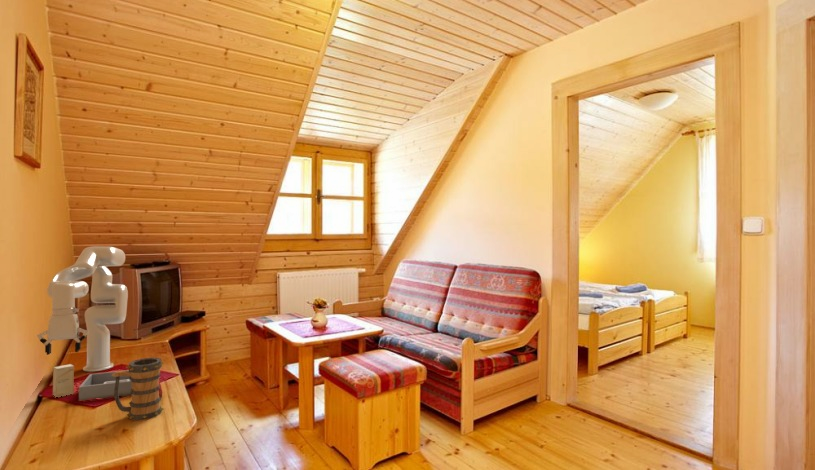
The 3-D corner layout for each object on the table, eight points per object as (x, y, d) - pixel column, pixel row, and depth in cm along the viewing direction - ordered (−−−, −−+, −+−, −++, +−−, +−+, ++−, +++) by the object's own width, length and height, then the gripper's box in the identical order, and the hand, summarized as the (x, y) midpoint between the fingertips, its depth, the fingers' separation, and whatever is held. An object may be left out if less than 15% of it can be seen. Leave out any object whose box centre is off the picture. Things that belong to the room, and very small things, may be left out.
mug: (164, 417, 162) (164, 363, 162) (109, 427, 154) (109, 370, 154) (164, 405, 174) (165, 355, 174) (113, 413, 165) (113, 361, 165)
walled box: (89, 387, 193) (89, 374, 193) (147, 380, 202) (147, 368, 202) (78, 401, 177) (78, 387, 177) (141, 393, 186) (141, 379, 186)
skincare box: (55, 398, 180) (55, 369, 180) (52, 395, 183) (52, 367, 183) (74, 394, 185) (74, 365, 185) (70, 391, 188) (70, 363, 188)
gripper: (90, 309, 191) (90, 348, 191) (41, 312, 184) (40, 352, 184) (86, 312, 184) (85, 352, 184) (34, 315, 177) (34, 357, 177)
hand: (63, 352), depth 184 cm, fingers open, 9 cm apart
